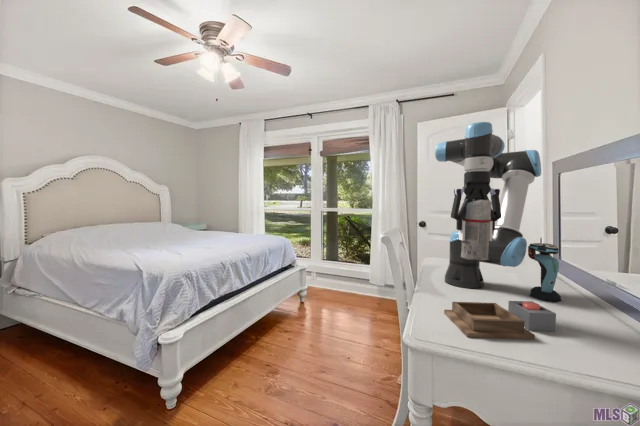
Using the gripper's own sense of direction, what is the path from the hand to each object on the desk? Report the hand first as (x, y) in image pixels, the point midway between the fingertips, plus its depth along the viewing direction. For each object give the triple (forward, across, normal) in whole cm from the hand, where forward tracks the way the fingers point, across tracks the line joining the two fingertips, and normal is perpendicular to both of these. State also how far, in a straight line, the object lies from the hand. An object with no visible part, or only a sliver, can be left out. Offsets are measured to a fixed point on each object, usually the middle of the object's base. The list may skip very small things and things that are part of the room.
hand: (474, 240), depth 90 cm
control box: (+23, +11, -11) cm, 28 cm away
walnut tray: (+23, -3, -13) cm, 26 cm away
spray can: (+6, 0, 0) cm, 6 cm away
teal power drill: (+23, +32, +13) cm, 41 cm away
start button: (+19, +11, -11) cm, 25 cm away
